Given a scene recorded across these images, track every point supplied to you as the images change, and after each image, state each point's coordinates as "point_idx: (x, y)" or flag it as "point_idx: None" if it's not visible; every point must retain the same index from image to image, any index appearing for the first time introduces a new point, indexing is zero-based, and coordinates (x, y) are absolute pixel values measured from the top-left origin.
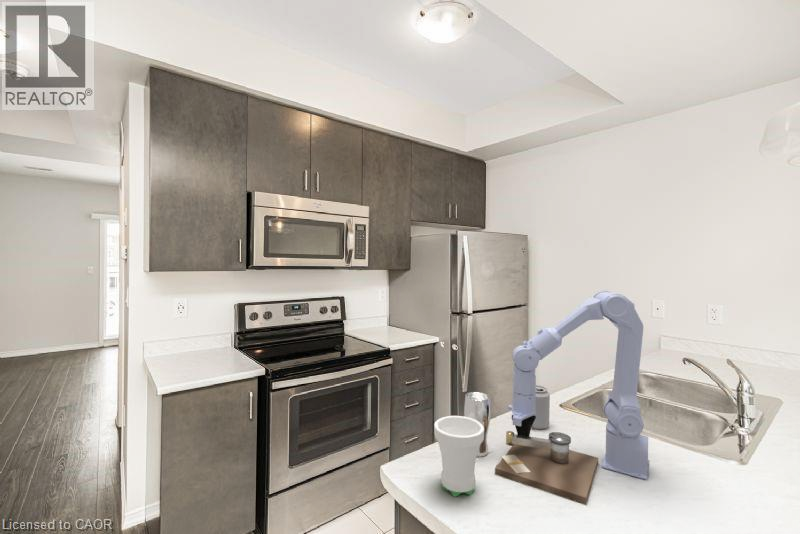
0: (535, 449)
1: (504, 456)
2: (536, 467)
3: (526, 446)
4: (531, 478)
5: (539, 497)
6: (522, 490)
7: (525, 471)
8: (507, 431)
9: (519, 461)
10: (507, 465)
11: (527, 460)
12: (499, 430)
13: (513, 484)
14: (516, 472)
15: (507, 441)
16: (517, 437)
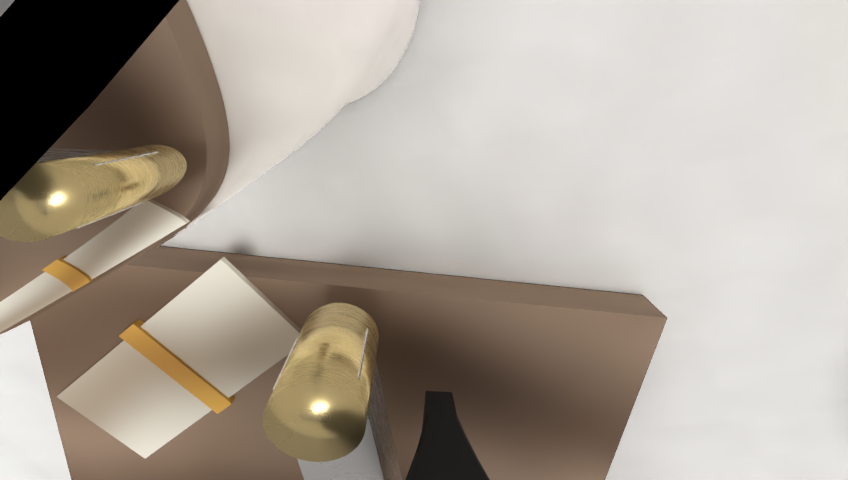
0: (482, 438)
1: (229, 283)
2: (235, 472)
3: (502, 385)
4: (82, 467)
5: (33, 475)
6: (22, 405)
7: (125, 435)
8: (331, 392)
9: (227, 387)
10: (124, 324)
11: None
12: (837, 93)
13: (39, 356)
14: (64, 395)
15: (296, 341)
16: (304, 471)
